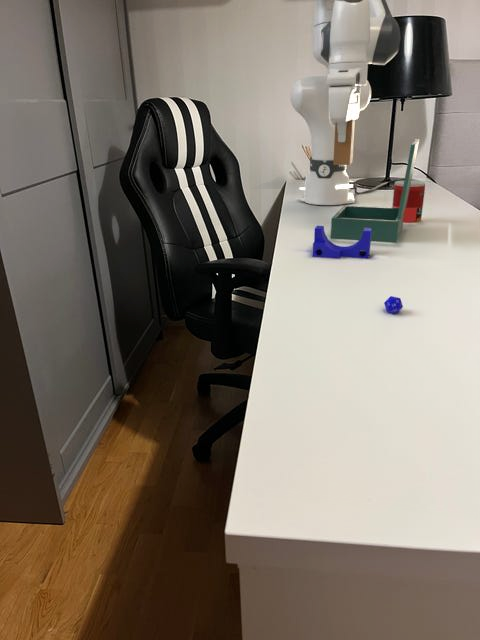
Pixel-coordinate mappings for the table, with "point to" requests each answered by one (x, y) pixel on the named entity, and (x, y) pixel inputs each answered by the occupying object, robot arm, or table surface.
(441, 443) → the table surface
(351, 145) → the carton
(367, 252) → the blue curved bracket
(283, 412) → the table surface
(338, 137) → the robot arm
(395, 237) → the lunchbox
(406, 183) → the lid
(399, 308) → the die
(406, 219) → the canned food
